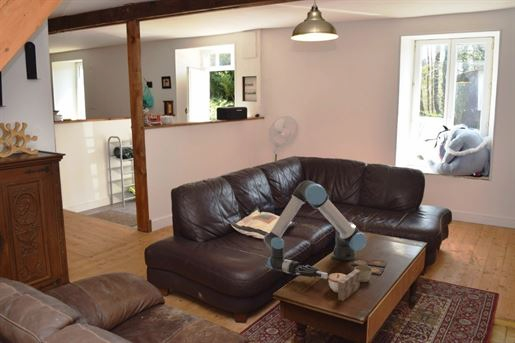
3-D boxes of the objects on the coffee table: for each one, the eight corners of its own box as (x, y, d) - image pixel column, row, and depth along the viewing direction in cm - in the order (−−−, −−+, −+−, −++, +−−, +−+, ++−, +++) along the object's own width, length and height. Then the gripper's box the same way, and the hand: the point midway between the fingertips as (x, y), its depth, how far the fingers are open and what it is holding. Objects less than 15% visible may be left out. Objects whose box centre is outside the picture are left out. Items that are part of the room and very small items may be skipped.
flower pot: (372, 277, 264) (373, 266, 263) (371, 284, 255) (371, 272, 253) (355, 276, 267) (355, 264, 266) (353, 282, 258) (353, 270, 257)
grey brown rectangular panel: (354, 286, 253) (355, 269, 252) (359, 287, 252) (360, 270, 250) (338, 299, 238) (338, 281, 236) (343, 300, 236) (343, 282, 234)
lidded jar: (348, 294, 243) (348, 278, 241) (328, 293, 245) (328, 277, 243) (347, 286, 253) (348, 270, 252) (328, 285, 255) (328, 269, 254)
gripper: (297, 269, 271) (332, 278, 257) (285, 276, 261) (321, 286, 247) (297, 257, 270) (332, 266, 256) (285, 264, 260) (321, 273, 246)
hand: (327, 276), depth 252 cm, fingers closed
